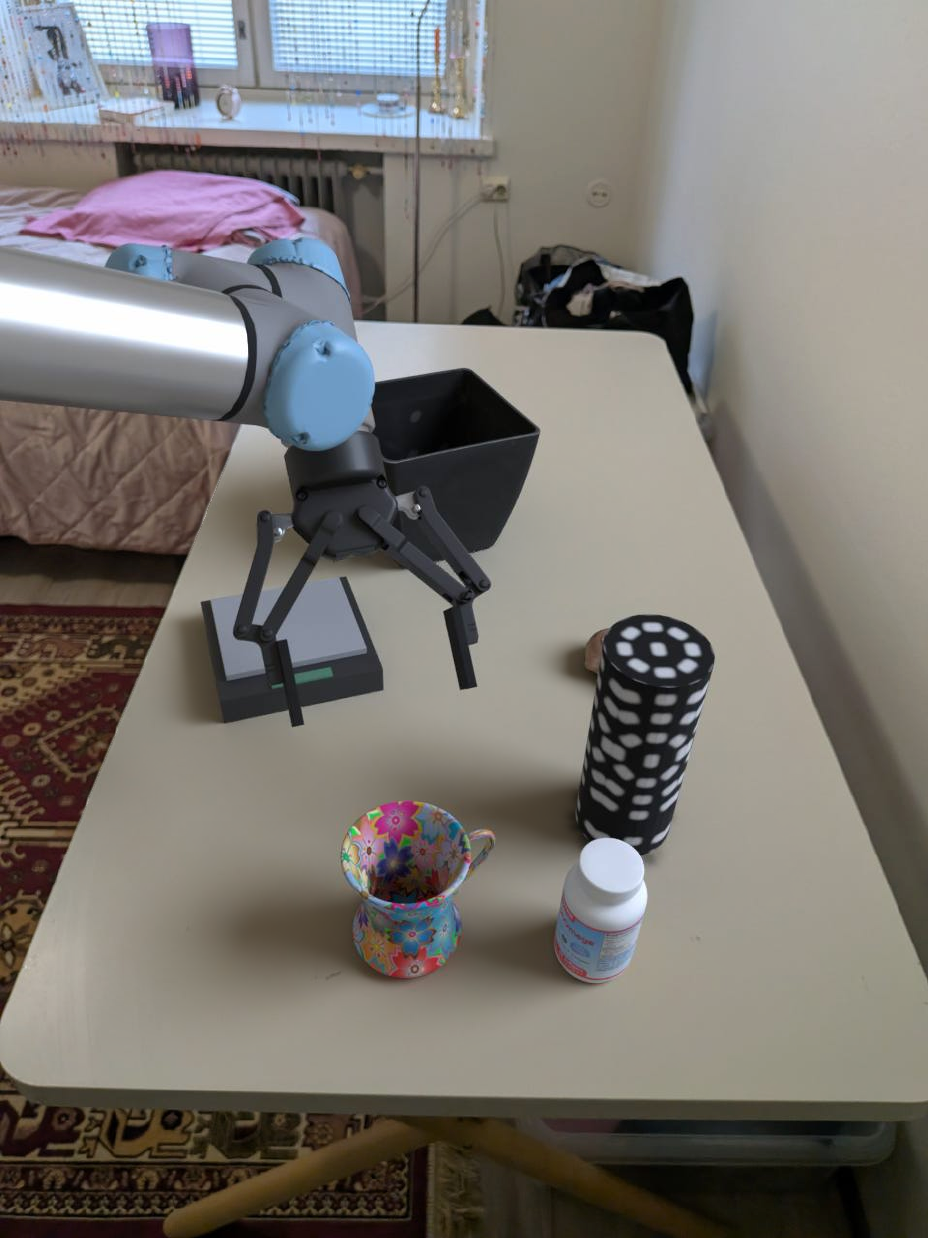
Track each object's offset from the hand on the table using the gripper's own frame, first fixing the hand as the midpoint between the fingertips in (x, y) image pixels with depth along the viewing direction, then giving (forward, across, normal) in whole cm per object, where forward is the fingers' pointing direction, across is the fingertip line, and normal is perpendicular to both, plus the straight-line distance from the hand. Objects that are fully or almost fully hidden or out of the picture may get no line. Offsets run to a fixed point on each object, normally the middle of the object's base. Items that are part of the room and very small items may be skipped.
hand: (385, 707), depth 71 cm
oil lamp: (+2, -28, -19) cm, 34 cm away
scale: (-7, +4, -28) cm, 29 cm away
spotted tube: (+14, -20, -7) cm, 25 cm away
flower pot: (-20, -17, -41) cm, 48 cm away
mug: (+18, 0, -3) cm, 18 cm away
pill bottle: (+22, -12, +1) cm, 25 cm away
